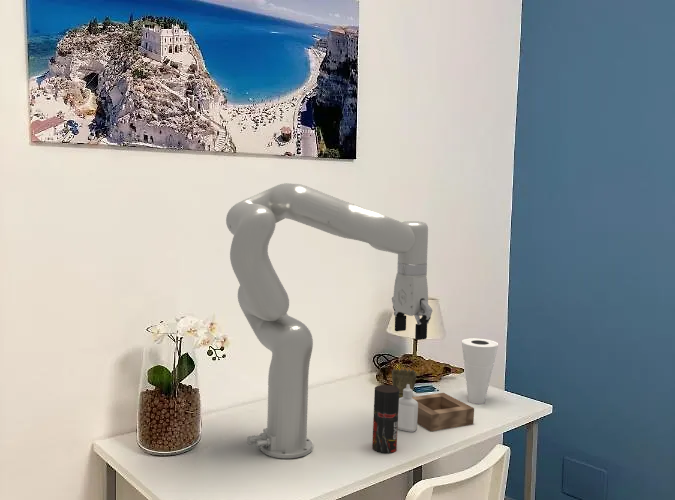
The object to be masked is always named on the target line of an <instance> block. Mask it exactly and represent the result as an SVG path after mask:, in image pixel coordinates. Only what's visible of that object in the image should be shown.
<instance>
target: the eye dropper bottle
mask: <svg viewBox="0 0 675 500" xmlns="http://www.w3.org/2000/svg"><path fill="white" fill-rule="evenodd" d="M413 390H414V389H413ZM413 390H412V389H410V385H409V384H407V386H406V388H405V389H403V397H401V398H399V409H398V430H400V431H404V432H409V433H414V432H415V431H416V430H418V424H417V419H418V402H417V401H416V400H414V399H413V398H412V397H413Z"/></svg>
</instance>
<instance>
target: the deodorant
mask: <svg viewBox="0 0 675 500" xmlns="http://www.w3.org/2000/svg"><path fill="white" fill-rule="evenodd" d="M373 399H374V400H373V417H372V419H373V420H372V421H373V422H372V423H373V425H372V441H371V442H372V446H371V447H372V449H371V450H372V451H374V452H375V453H379V454H386V455H387V454H394V453H395V452H396V451H397V449H398V430H399V429H398V409H399V388H398V387H395V386H393V385H389V384H381V385H376V386H375V387H374V398H373Z"/></svg>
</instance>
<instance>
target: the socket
mask: <svg viewBox="0 0 675 500" xmlns="http://www.w3.org/2000/svg"><path fill="white" fill-rule="evenodd" d="M412 398H413V399H414V400H416V401H417V402H418V419H417V425H419V426H421V427H422V428H424V429H426V430H427V431H429V432H435V431H436V432H437V431H440V430H442V431H443V430H447V429H448V430H449V429H454V428H460V427H465V426H471V425H474V420H475V419H474V417H475V408H474V407H473V406H471V405H469V404H467V403H464V402H462V401H461V400H459V399H457V398H455V397H453V396H451V395H449V394H447V393H445V392H438V393H432V394H426V395H425V394H424V395H417V396H416V395H415V396H412Z"/></svg>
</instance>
